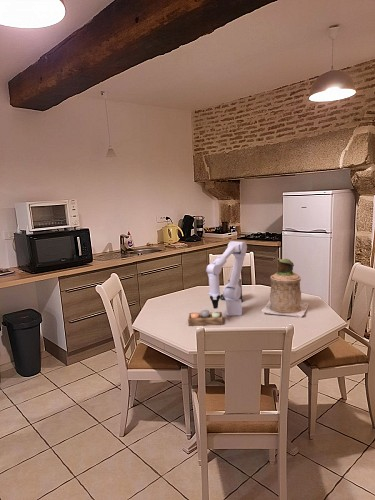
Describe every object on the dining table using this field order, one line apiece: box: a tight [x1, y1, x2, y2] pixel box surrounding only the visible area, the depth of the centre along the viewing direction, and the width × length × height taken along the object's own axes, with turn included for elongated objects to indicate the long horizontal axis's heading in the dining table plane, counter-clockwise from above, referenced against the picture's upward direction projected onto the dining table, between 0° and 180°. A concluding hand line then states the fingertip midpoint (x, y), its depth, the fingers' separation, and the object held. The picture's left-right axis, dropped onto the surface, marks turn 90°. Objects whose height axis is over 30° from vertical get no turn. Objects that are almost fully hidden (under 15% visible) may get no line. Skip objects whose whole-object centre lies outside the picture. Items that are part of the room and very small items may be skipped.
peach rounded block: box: [190, 312, 200, 318], centre depth 201 cm, size 5×5×4 cm
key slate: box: [200, 309, 210, 318], centre depth 201 cm, size 5×5×4 cm
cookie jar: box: [261, 257, 309, 318], centre depth 211 cm, size 25×25×32 cm
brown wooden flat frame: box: [187, 311, 224, 327], centre depth 201 cm, size 19×12×3 cm, turn 86°
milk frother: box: [219, 278, 244, 302], centre depth 236 cm, size 14×16×15 cm
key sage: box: [212, 311, 220, 318], centre depth 200 cm, size 5×5×4 cm
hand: (215, 308), depth 200 cm, fingers closed
